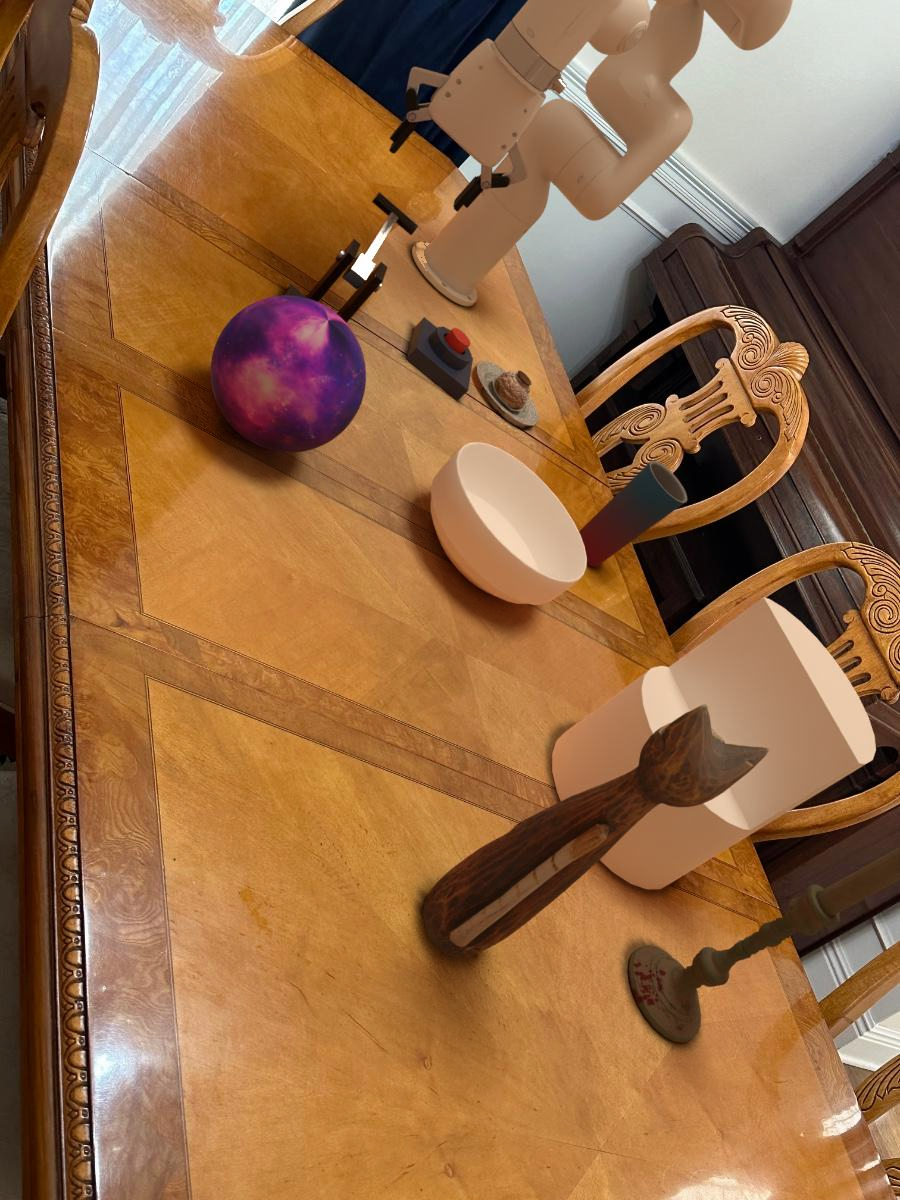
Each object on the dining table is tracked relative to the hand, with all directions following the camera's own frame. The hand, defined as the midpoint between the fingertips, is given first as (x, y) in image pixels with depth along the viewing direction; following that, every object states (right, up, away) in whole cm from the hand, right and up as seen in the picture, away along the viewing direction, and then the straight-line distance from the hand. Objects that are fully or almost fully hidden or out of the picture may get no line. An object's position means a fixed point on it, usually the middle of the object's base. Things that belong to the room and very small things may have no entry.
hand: (424, 178), depth 135 cm
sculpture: (+3, -75, -41) cm, 86 cm away
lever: (-6, -8, +2) cm, 10 cm away
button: (+3, -15, +21) cm, 26 cm away
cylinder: (+20, -71, -14) cm, 75 cm away
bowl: (+6, -44, -2) cm, 44 cm away
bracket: (-14, -17, +4) cm, 22 cm away
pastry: (+10, -20, +32) cm, 39 cm away
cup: (+21, -43, +19) cm, 51 cm away
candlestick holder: (+22, -85, -28) cm, 93 cm away
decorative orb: (-18, -31, -18) cm, 40 cm away
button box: (+1, -17, +23) cm, 29 cm away
